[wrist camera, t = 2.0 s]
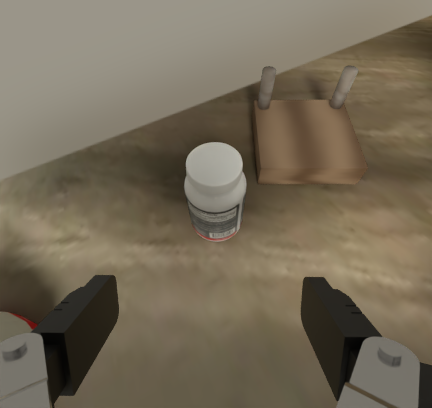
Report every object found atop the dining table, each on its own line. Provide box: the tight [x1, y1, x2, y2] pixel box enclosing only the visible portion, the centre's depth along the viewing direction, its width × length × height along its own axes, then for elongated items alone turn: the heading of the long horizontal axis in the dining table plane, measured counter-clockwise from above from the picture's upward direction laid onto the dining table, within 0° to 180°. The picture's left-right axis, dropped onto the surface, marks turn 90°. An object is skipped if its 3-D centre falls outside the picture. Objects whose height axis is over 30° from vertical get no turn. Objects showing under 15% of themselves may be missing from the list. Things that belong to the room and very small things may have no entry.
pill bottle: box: [184, 142, 246, 241], centre depth 26 cm, size 6×6×10 cm
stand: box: [252, 66, 368, 184], centre depth 32 cm, size 12×12×8 cm
